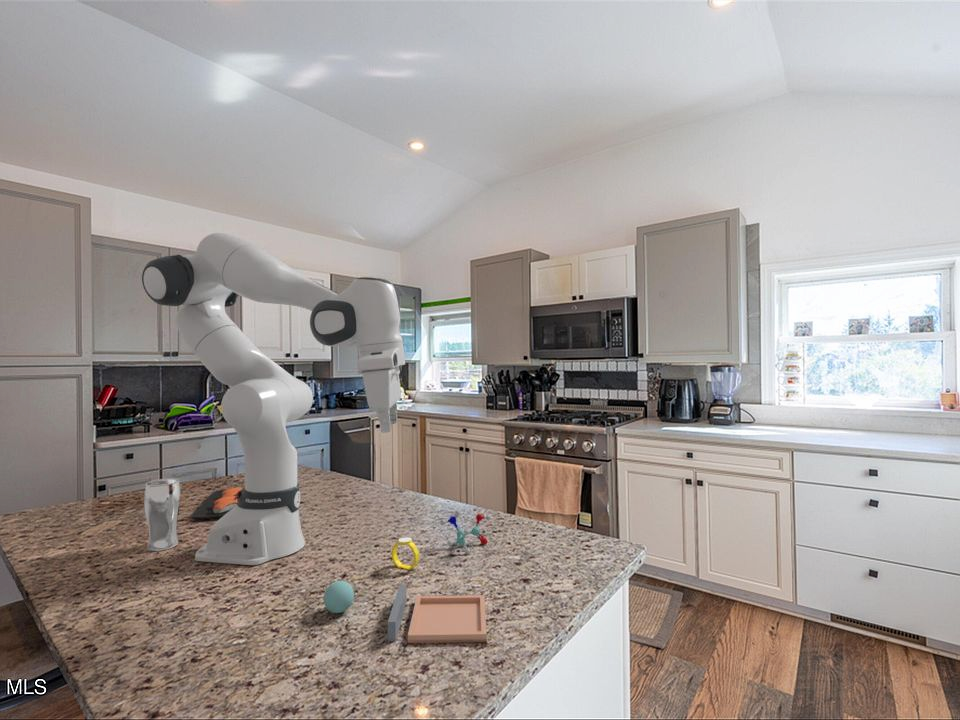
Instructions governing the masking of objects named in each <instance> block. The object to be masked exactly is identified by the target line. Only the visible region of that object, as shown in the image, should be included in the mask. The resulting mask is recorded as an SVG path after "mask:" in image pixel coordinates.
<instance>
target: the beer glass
mask: <svg viewBox="0 0 960 720" xmlns="http://www.w3.org/2000/svg"><path fill="white" fill-rule="evenodd" d="M180 487H181V486H180V479H179V478H172V477H171V478H160V479H154V480H151V481H147V482H146V483H145V489H144V498H143V499H144V500H143V501H144V512H145V518H146V523H147V526H148V540H147V545H146V550H147V552H148V551H149V552H162V551H167V550H169V549H172V548H175V547H176V546H178V545H179V539H178V533H177V524H178V519H179V518H178V517H179V514H180V513H179V512H180V507H181V488H180Z"/></svg>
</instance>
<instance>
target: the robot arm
mask: <svg viewBox="0 0 960 720" xmlns="http://www.w3.org/2000/svg"><path fill="white" fill-rule="evenodd" d="M141 282H142V287H143V289H144V291H145V293H146V295H147V296H148V297H149V298H150V300H152V301H153V302H154V303H155V304H158V305H161V306H167V307H180V306H181V305H182V307H180V308H179V310H178V311H177V313H176V315H175V316H174V317H175V319H174V324H175V327H176V329H177V330H178V333H179V334H180V336H181V338H182V339H183V341H184V343H186V345H187V347H188V348H189V350H190V351H192V353H193V354H194V356H195V357H196V358H197V359H198V360H199V361H200V362H201V363H202V365H203V366H204V367H205V368H206V370H208V371H209V373H210V374H211V375H212V376H213V377H214V378H215V379H216V380H217V381H218V382H220V383H222V384H224V385H225V386H226V385H227V386H228V387H230V388H228V389H227V390H226V391H225V393H224V394H223V397H222V400H221V404H220V405H221V407H220V408H221V414H222V417H223V419H224V420H225V422H226V423H227V424H228V425H229V426H230V427H232V428H233V429H234V430H235V432H236V434H237V436H238V438H239V442H240V444H241V449H242V451H243V458H244V461H243V462H244V486H243V487H242V488H243V489H242V490H240V491H238V492H237V494H235V495H233V496H235V497H234V499H233V500H236V499H237V502H238V503H237V506H235V507H234V508H233V509H231V510H230V511H229V512H228V513H226V514H225V515H224V516H223V517H221V518H219V519H218V520H217V521H215V522H214V524H213V525H212V526H211V527H210V530H209V532H208V535H207V541H206V543H204V544H203V545H202V546H200V547H199V548H198V550H196V552H195V554H194V560H195V561H197V562H205V563H206V562H207V563H219V564H220V563H221V564H233V565H244V566H245V565H247V566H258V565H261V564H263V563H266V562H269V561H272V560H276V559H279V558H284V557H287V556H289V555H292V554H295V553H296V552H298V551H300V550H302V549H303V548H304V546H305V545H306V541H305V537H304V534H303V531H302V525H301V519H300V511H299V509H300V505H301V503H300V502H301V492H300V491H301V490H300V484H299V482H298V451H297V449H296V447H295V446H294V445H292V443H291V440H290V438H289V435H288V432H287V428H286V424H288V423H291V422H292V423H293V422H294V421H297V420H298V419H300V418H302V417H303V416H304V415H306V414H307V413H308V412H309V411H310V410H311V408H312V406H313V402H314V394H313V392H312V389H311V387H310V386H309V384H307V383H306V382H305V381H302V380H301V379H299V378H297V377H295V376H293V375H292V374H291V373H289V372H288V371H287V370H285V369H284V368H283V367H281V366H280V365H279V364H278V363H276V362H275V361H274V360H273V359H271V358H270V357H269V356H267V355H265V353H263V352H262V351H261V350H260V349H259V348H258V347H257V346H256V345H255V344H254V343H253V342H252V340H251V339H249V337H248V336H247V334H245V333H244V332H243V331H242V329H240V328H239V326H238V325H236V323H235V322H234V321H233V320H232V319H231V318H230V317H229V315H228V314H227V312H226V308H229V307H232V306H233V305H235V304H236V302H237V298H238V297H242V298H245V299H248V300H250V301H253V302H257V303H263V304H276V305H283V306H284V305H285V306H293V307H298V308H301V309H305V310H307V311H308V310H309V311H310V312H311V314H310V316H309V327H310V331H311V333H312V335H313V337H314V338H315V340H316V341H317V342H318V343H319V344H321V345H323V346H326V347H327V346H328V347H335V348H336V347H353V346H354V347H355V346H357V353H358V359H357V367H358V368H357V369H358V371H359V372H362V380H363V381H362V382H363V386H364V387H363V388H364V391H365V395H366V396H365V397H366V401H367V405H368V408H369V411H370V412H371V413H374V412H376V414H377V418H378V422H379V427H380V432H381V434H382V433H383V434H384V433H390V432H391V431H392V425H395V424H397V423H398V401H399V400H400V399H401V398H402V389H401V380H400V373H401V370H400V366H405V365H406V359H405V358H406V357H405V350H404V348H405V347H404V341H403V337H402V335H401V331H400V325H401V314H400V307H399V300H398V296H397V292H396V289H395V287H394V284H393V283H392V282H390V281H389V280H387V279H383V278H379V277H378V278H377V277H372V276H371V277H370V276H364V277H363V276H362V277H357V278H355V279H353V280H352V282H351V283H350V285H349V286H348V287H347V288H345V289H344V290H343V291H341V292H340V293H339V292H336V291H334V290H333V289H331V288H328V287H326V286H325V285H322V284H320V283H319V282H317V281H314V280H312V279H310V278H309V277H307V276H305V274H302V273H301V272H299V271H298V270H295V269H294V268H292V267H291V266H289V265H288V264H286V263H285V262H283V261H281V260H280V259H278V258H277V257H276V256H273V255H272V254H270V253H269V252H267V251H265V250H264V249H262V248H261V247H259V246H256V245H255V244H253V243H251V242H248V241H247V240H246V239H245V240H244V239H241V238H239V237H236V236H234V235H231V234H227V233H222V232H214V233H210V234H208V235H206V236H205V237H203V238H202V239H201V240H200V242H199V243H198V245H197V248H196V251H195V253H191V254H182V255H181V254H172V255H166V256H162V257H158V258H155V259H152V260H150V261H148V263H147V264H146V265H145V266H144V268H143V270H142V275H141Z"/></svg>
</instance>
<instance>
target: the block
mask: <svg viewBox="0 0 960 720" xmlns="http://www.w3.org/2000/svg"><path fill="white" fill-rule="evenodd" d="M397 588H398V589H397V592H396V595H395V599H394V601H393V604H392V607H391V611H390V613H389V617H388V620H387V642H393V643H394V642H396V641H397V637H398V634H399V630H400V627H401V623H402V619H403V616H404V611H405V610H406V609H405V608H406V604H407V584H399V586H398V587H397Z"/></svg>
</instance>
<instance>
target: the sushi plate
mask: <svg viewBox="0 0 960 720" xmlns="http://www.w3.org/2000/svg"><path fill="white" fill-rule="evenodd" d="M242 489H243V487H230V488H227V489H219V490H214V491H213V492H212V493H210V495H209V496H208V497H207V498H206V499H205V500H204V501H203V503H202V504H200V506H199V507H198V508H197V509H196V510H195V511H194V513H192V518H193V519H197V520H199V519H201V520H202V519H203V520H204V519H218V518H219V519H220V518H222V517H223V516H224V515H225V514H226V513H228V512H229V511H230V510H231V509H233V508H234V507H235V506H237V503H238V502H237V499H236V500H233V499H234V497H235V496H233V495H235V494H237V492H238V491H240V490H242ZM301 503H305V502H303V501H300V504H301Z"/></svg>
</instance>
